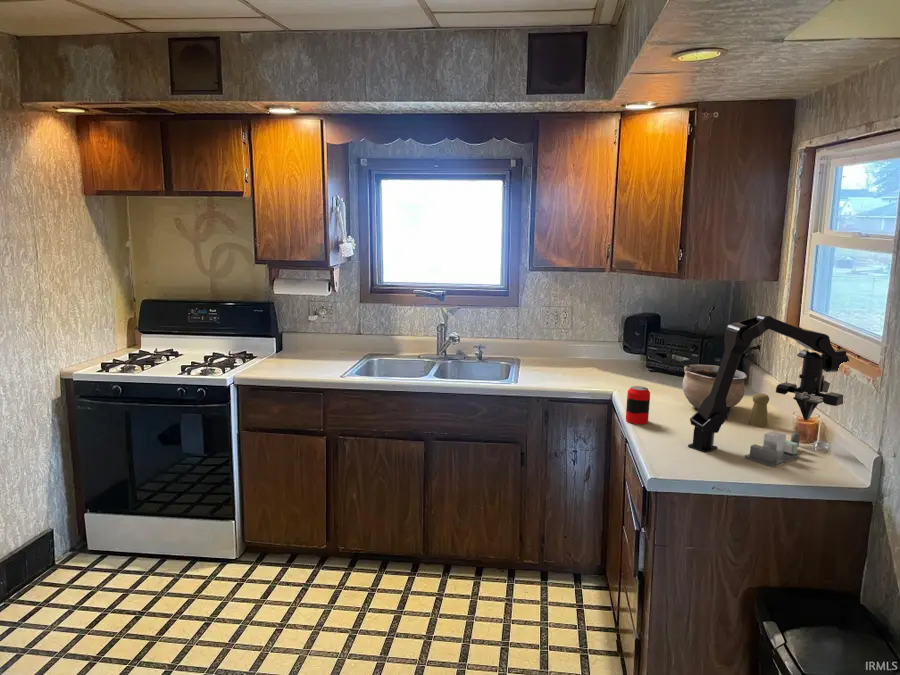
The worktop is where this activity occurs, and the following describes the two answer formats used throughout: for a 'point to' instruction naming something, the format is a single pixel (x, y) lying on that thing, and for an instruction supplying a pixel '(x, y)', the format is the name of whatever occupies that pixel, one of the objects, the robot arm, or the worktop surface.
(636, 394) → the soda can
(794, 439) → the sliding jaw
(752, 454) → the base
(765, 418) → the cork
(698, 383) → the ceramic bowl
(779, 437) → the steel block
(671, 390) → the worktop surface
